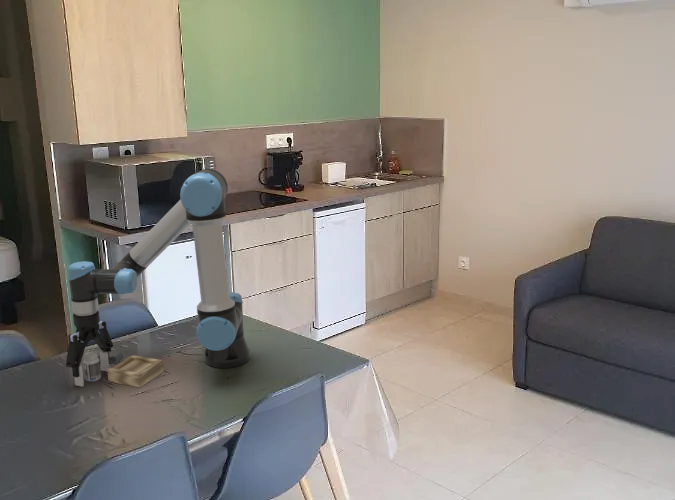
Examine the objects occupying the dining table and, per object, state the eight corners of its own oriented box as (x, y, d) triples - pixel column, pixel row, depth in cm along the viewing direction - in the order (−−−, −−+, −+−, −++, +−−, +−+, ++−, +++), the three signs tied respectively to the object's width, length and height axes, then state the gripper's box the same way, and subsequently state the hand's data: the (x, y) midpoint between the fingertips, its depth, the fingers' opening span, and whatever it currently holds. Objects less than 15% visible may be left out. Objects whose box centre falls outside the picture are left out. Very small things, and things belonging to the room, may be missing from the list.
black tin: (122, 357, 220) (121, 349, 219) (116, 365, 214) (115, 356, 213) (105, 357, 220) (104, 349, 219) (98, 365, 214) (97, 356, 213)
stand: (163, 371, 208) (163, 360, 207) (139, 387, 197) (138, 375, 196) (133, 366, 212) (132, 355, 211) (108, 381, 201) (107, 369, 200)
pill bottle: (103, 375, 205) (101, 351, 203) (97, 382, 201) (94, 357, 199) (89, 375, 206) (86, 350, 204) (82, 381, 201) (79, 356, 199)
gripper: (102, 299, 210) (108, 362, 215) (47, 322, 189) (55, 391, 194) (121, 301, 207) (126, 365, 212) (67, 326, 186) (75, 395, 191)
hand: (92, 377), depth 203 cm, fingers open, 11 cm apart
